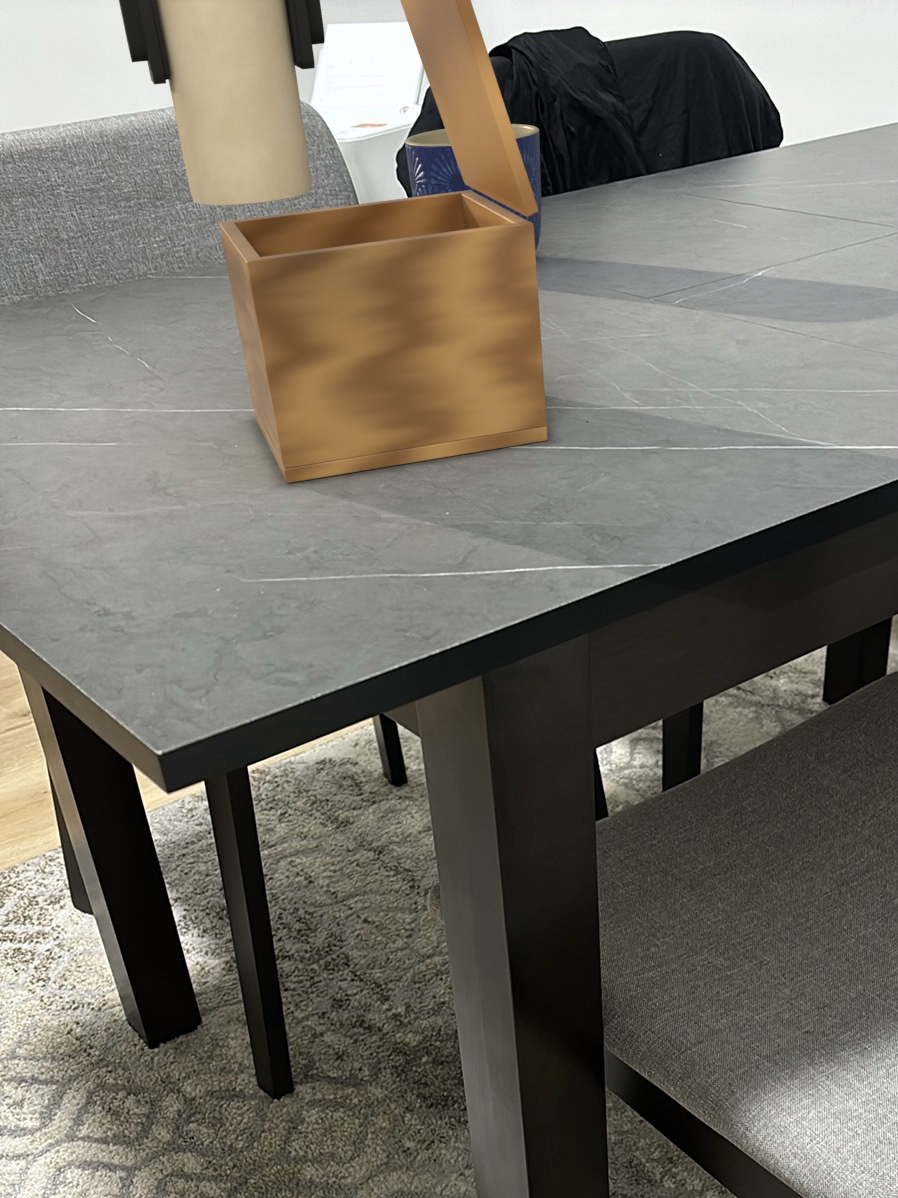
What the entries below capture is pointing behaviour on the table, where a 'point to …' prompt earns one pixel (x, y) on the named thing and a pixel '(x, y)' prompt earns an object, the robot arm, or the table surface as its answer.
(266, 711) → the table surface
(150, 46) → the robot arm
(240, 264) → the chest
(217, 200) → the candle
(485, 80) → the lid
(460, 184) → the planter
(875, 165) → the table surface
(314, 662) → the table surface
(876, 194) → the table surface
